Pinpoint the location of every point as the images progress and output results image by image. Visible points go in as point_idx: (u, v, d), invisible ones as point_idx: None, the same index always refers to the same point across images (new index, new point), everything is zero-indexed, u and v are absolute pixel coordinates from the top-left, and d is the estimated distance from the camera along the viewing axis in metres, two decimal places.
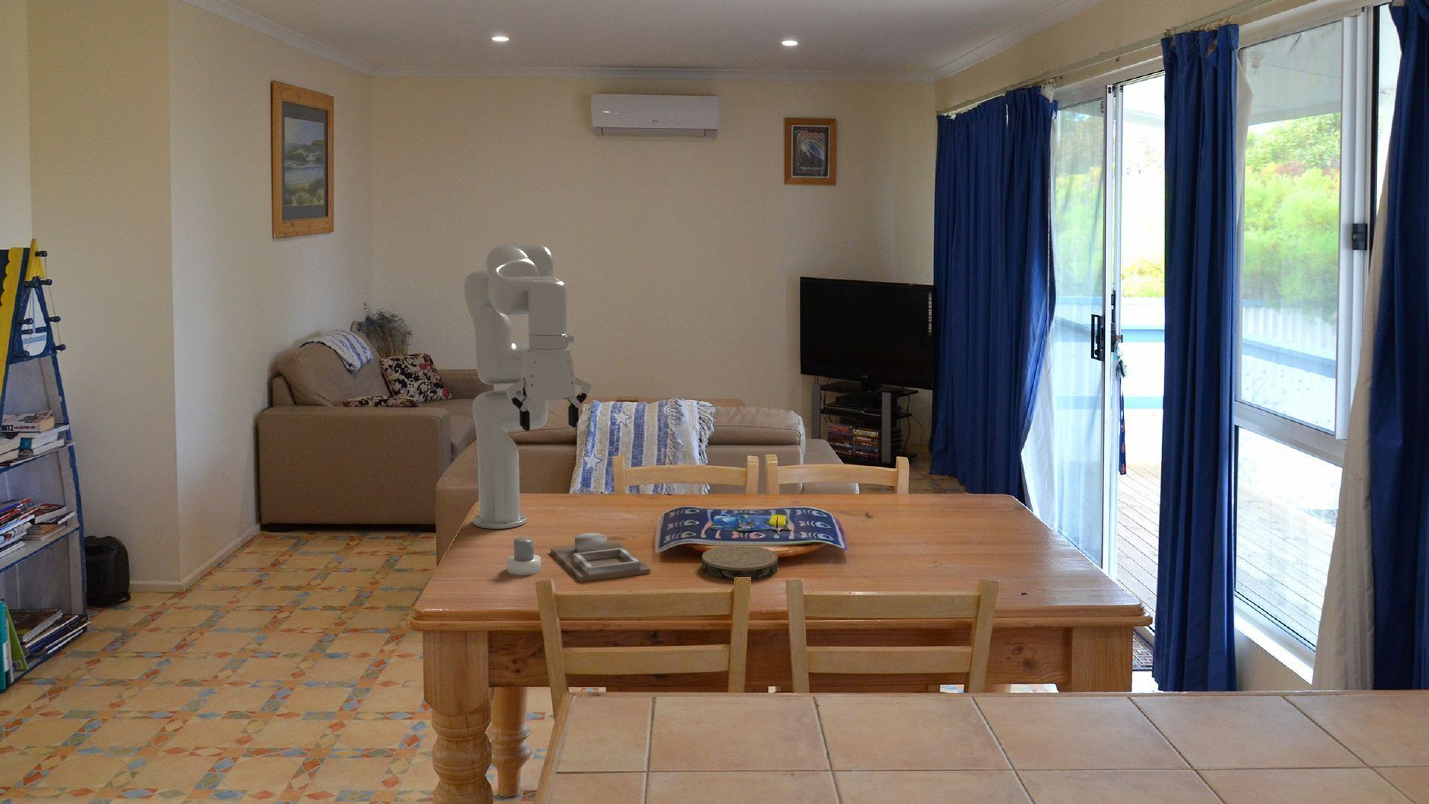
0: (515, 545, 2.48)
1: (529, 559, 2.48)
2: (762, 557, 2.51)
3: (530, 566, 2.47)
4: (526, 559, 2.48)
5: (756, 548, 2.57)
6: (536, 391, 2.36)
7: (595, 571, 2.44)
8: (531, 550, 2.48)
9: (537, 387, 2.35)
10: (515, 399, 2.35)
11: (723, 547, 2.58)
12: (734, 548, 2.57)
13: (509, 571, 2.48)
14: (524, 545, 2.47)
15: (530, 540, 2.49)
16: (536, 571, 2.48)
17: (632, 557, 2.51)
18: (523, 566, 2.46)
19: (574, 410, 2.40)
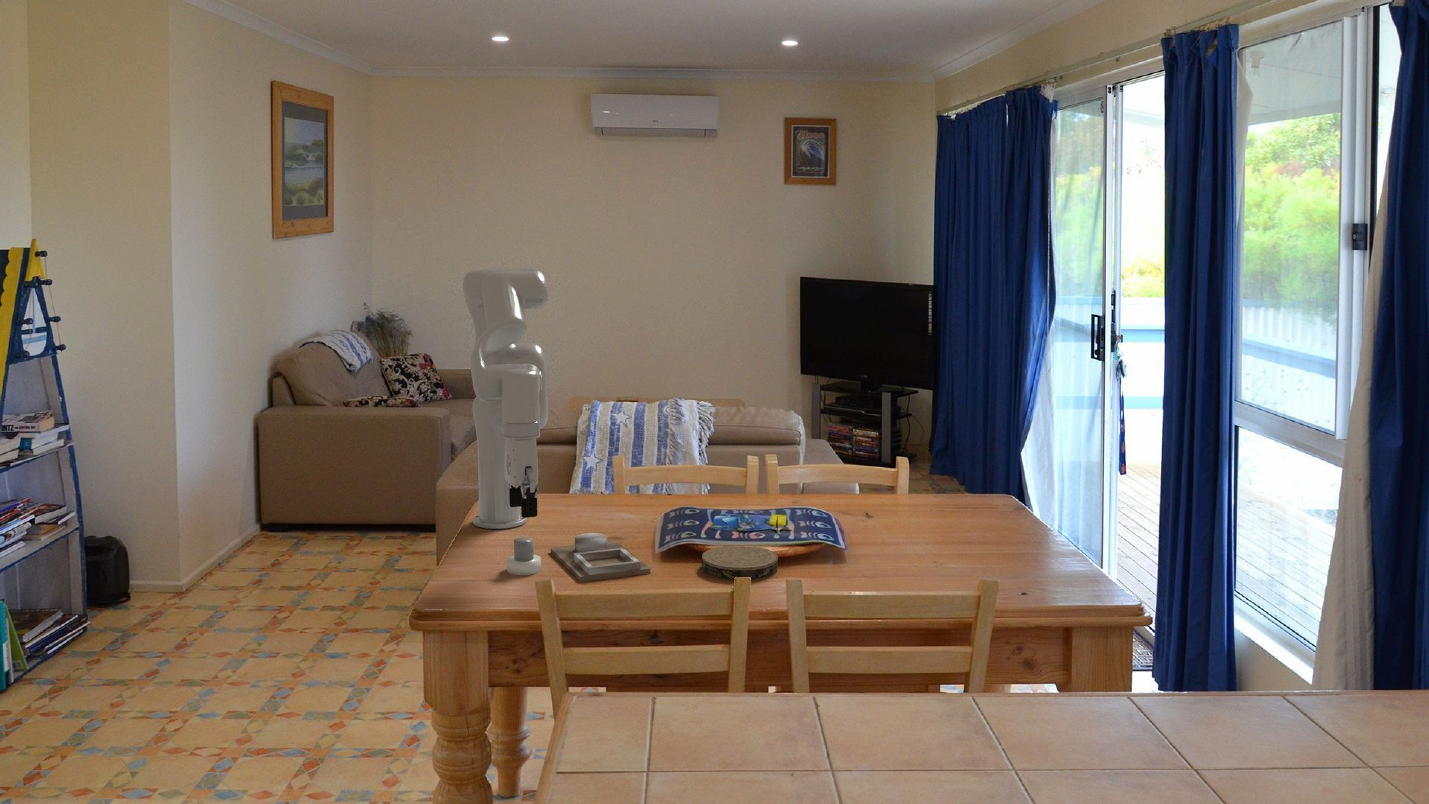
0: (515, 545, 2.48)
1: (529, 559, 2.48)
2: (762, 557, 2.51)
3: (530, 566, 2.47)
4: (526, 559, 2.48)
5: (756, 548, 2.57)
6: None
7: (595, 571, 2.44)
8: (531, 550, 2.49)
9: None
10: (535, 488, 2.41)
11: (723, 547, 2.58)
12: (734, 548, 2.57)
13: (509, 571, 2.48)
14: (524, 545, 2.47)
15: (530, 540, 2.49)
16: (536, 571, 2.48)
17: (632, 557, 2.51)
18: (523, 566, 2.46)
19: None
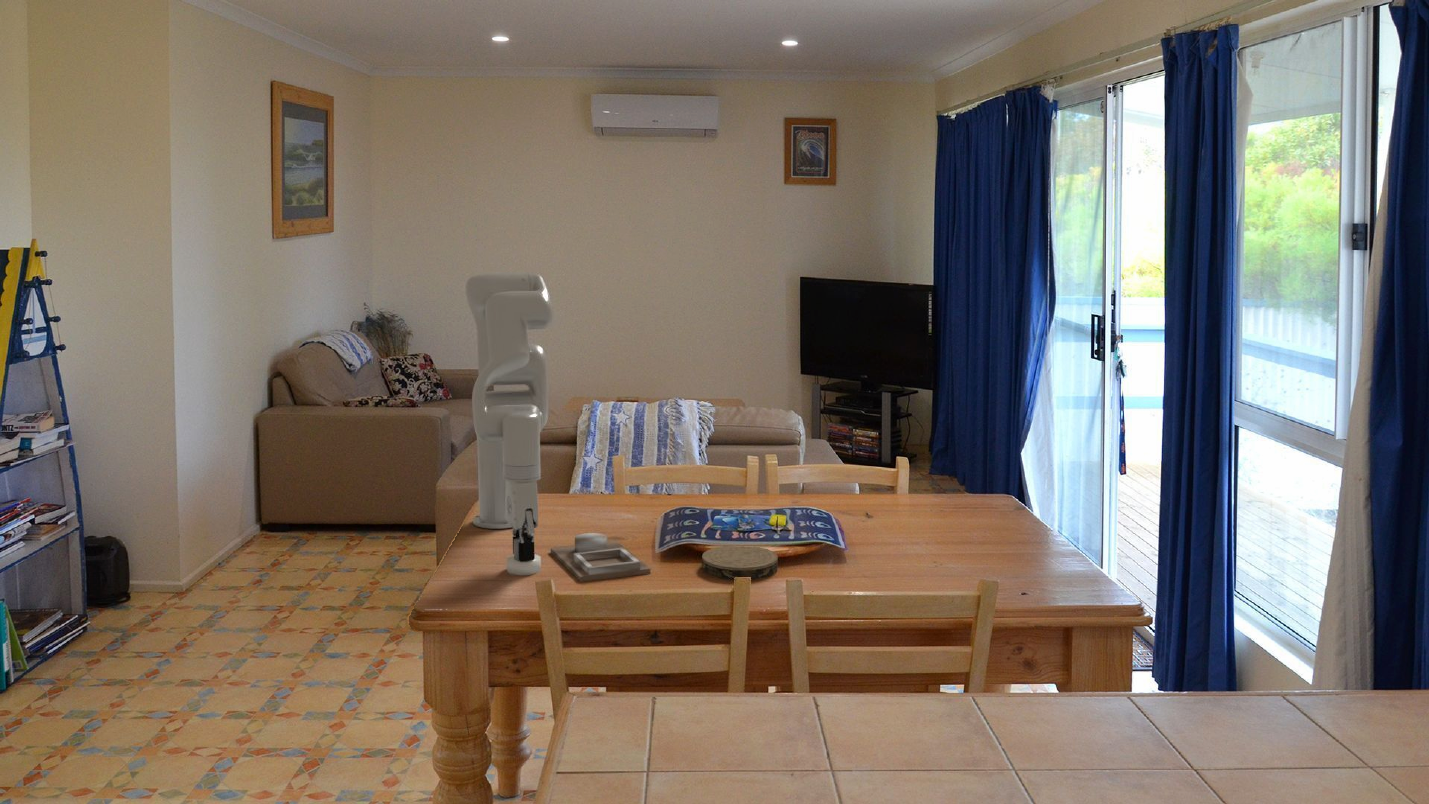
0: (515, 545, 2.48)
1: None
2: (762, 557, 2.51)
3: (530, 565, 2.47)
4: None
5: (756, 548, 2.57)
6: None
7: (595, 571, 2.44)
8: None
9: None
10: None
11: (723, 547, 2.58)
12: (734, 548, 2.57)
13: (509, 571, 2.48)
14: None
15: None
16: (536, 571, 2.48)
17: (632, 557, 2.51)
18: (523, 565, 2.46)
19: None
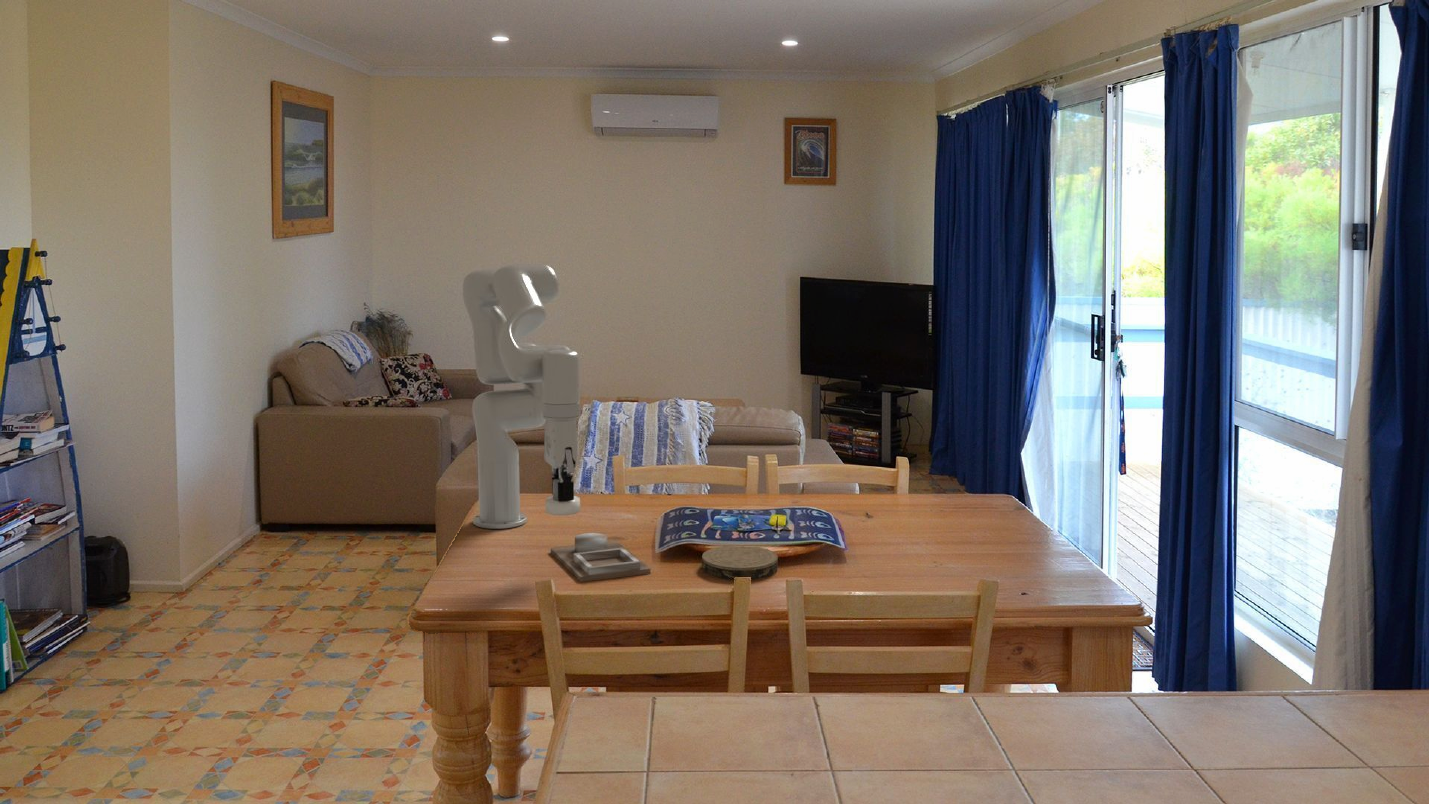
0: (554, 485, 2.46)
1: None
2: (762, 557, 2.51)
3: (569, 505, 2.45)
4: None
5: (756, 548, 2.57)
6: None
7: (595, 571, 2.44)
8: None
9: None
10: None
11: (723, 547, 2.58)
12: (734, 548, 2.57)
13: (548, 511, 2.46)
14: None
15: None
16: (575, 511, 2.46)
17: (632, 557, 2.51)
18: (562, 505, 2.45)
19: None
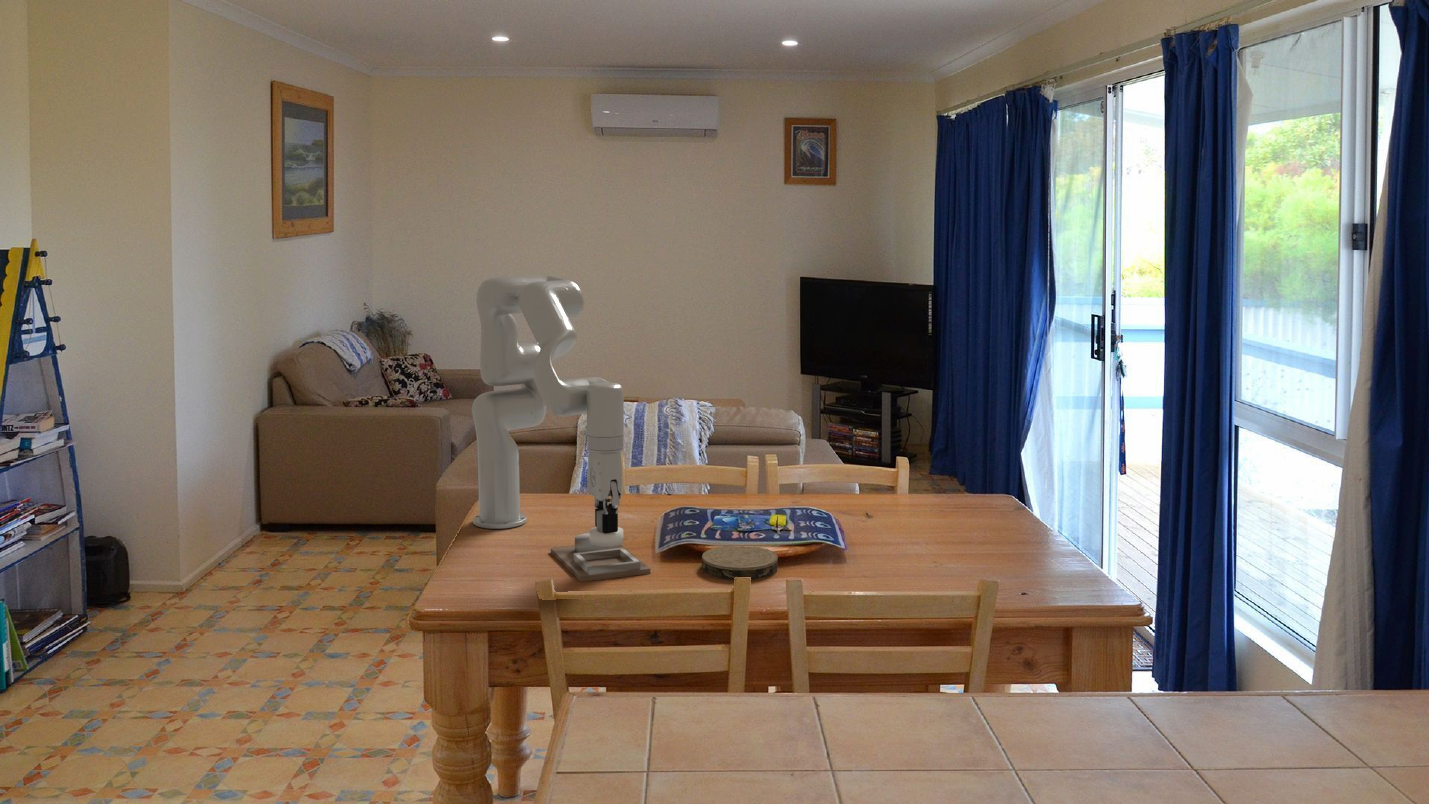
0: (598, 516, 2.48)
1: None
2: (762, 557, 2.51)
3: (614, 537, 2.47)
4: None
5: (756, 548, 2.57)
6: None
7: (595, 571, 2.44)
8: None
9: None
10: None
11: (723, 547, 2.58)
12: (734, 548, 2.57)
13: (592, 542, 2.48)
14: None
15: None
16: (619, 542, 2.48)
17: (632, 557, 2.51)
18: (606, 537, 2.46)
19: None
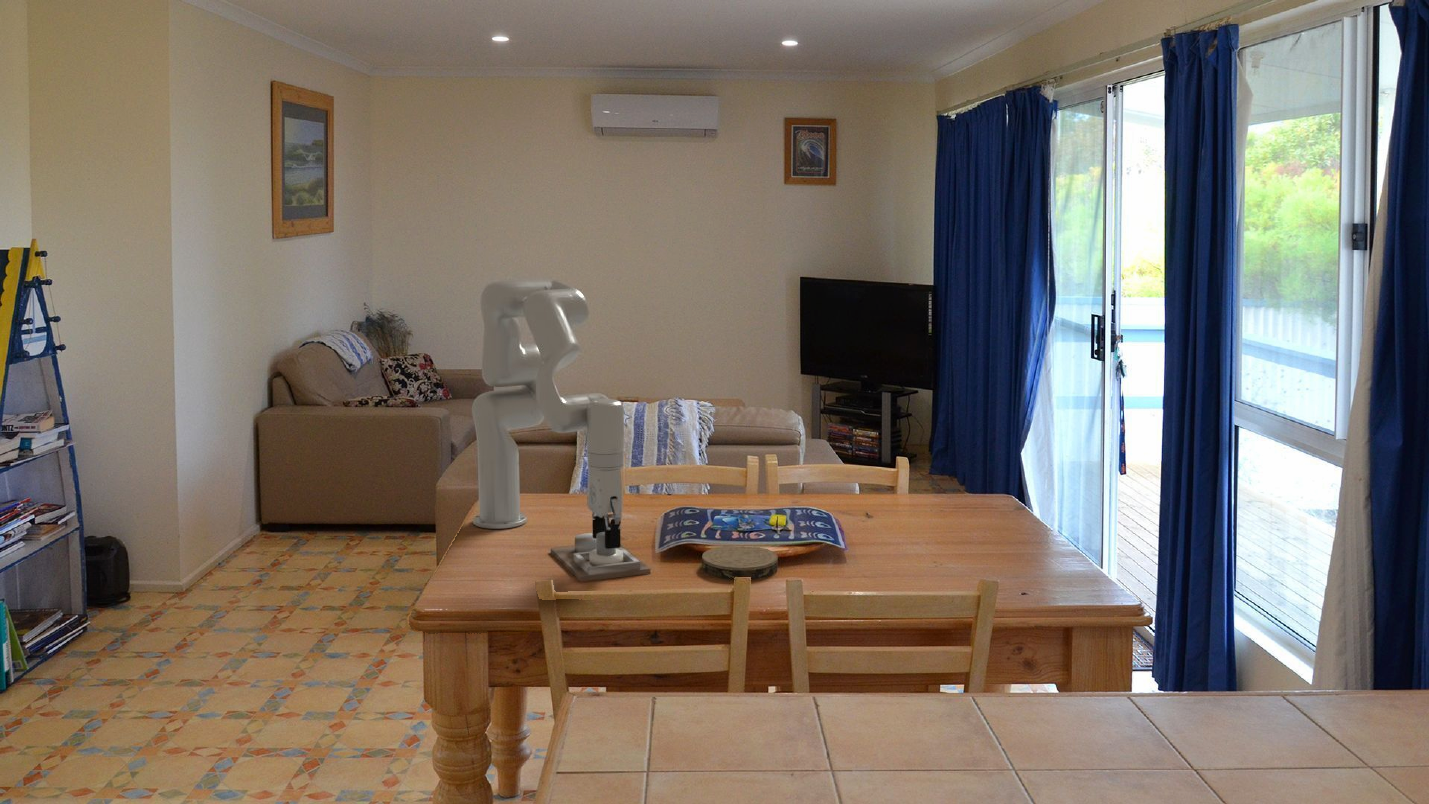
0: (598, 539, 2.49)
1: (612, 553, 2.49)
2: (762, 557, 2.51)
3: (614, 560, 2.48)
4: (609, 553, 2.49)
5: (756, 548, 2.57)
6: None
7: (595, 571, 2.44)
8: None
9: None
10: None
11: (723, 547, 2.58)
12: (734, 548, 2.57)
13: (592, 565, 2.49)
14: None
15: None
16: None
17: (632, 557, 2.51)
18: (606, 560, 2.47)
19: None
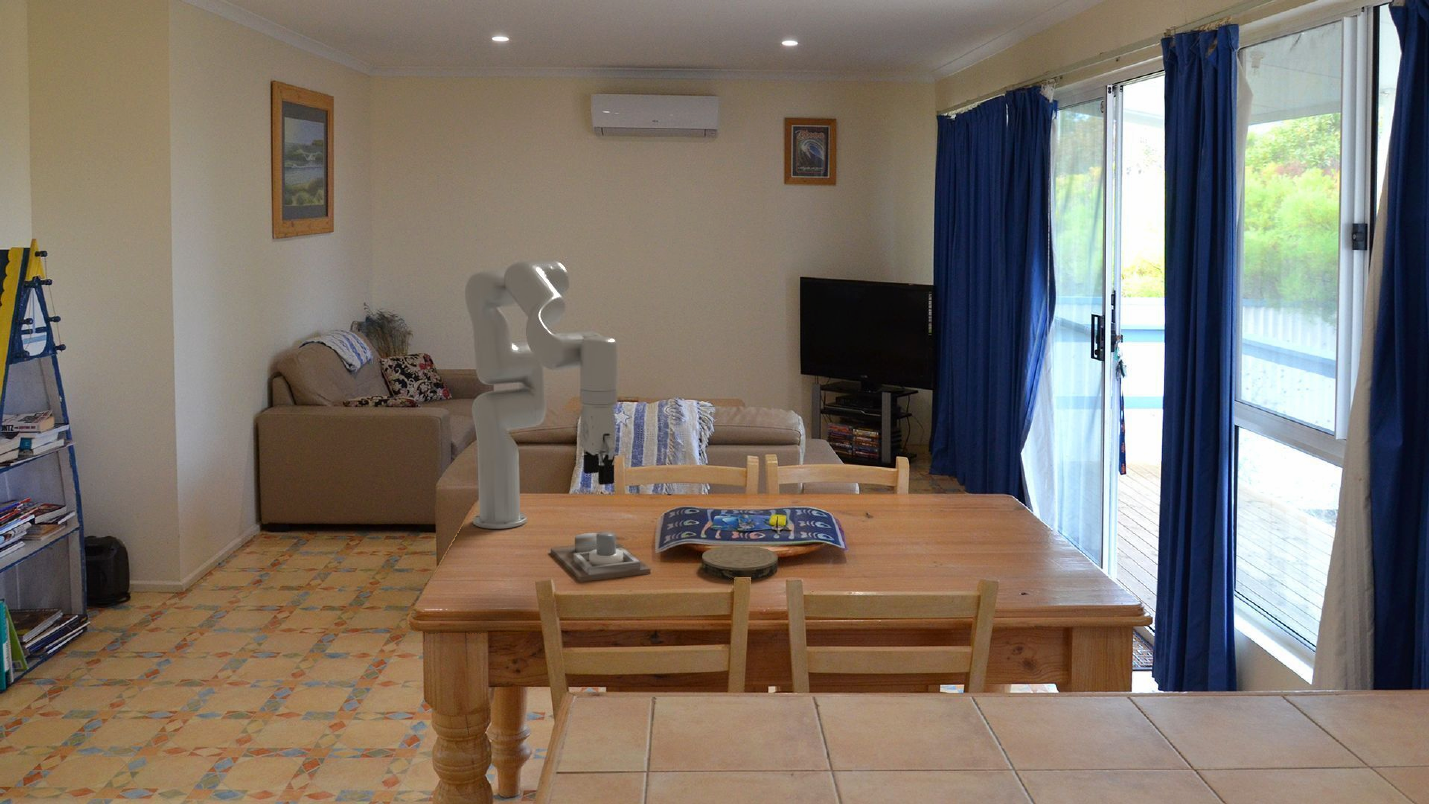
0: (598, 539, 2.49)
1: (612, 553, 2.49)
2: (762, 557, 2.51)
3: (614, 560, 2.48)
4: (609, 553, 2.49)
5: (756, 548, 2.57)
6: None
7: (595, 571, 2.44)
8: (614, 544, 2.49)
9: None
10: (613, 455, 2.42)
11: (723, 547, 2.58)
12: (734, 548, 2.57)
13: (592, 565, 2.49)
14: (607, 539, 2.48)
15: (612, 534, 2.50)
16: None
17: (632, 557, 2.51)
18: (606, 560, 2.47)
19: None
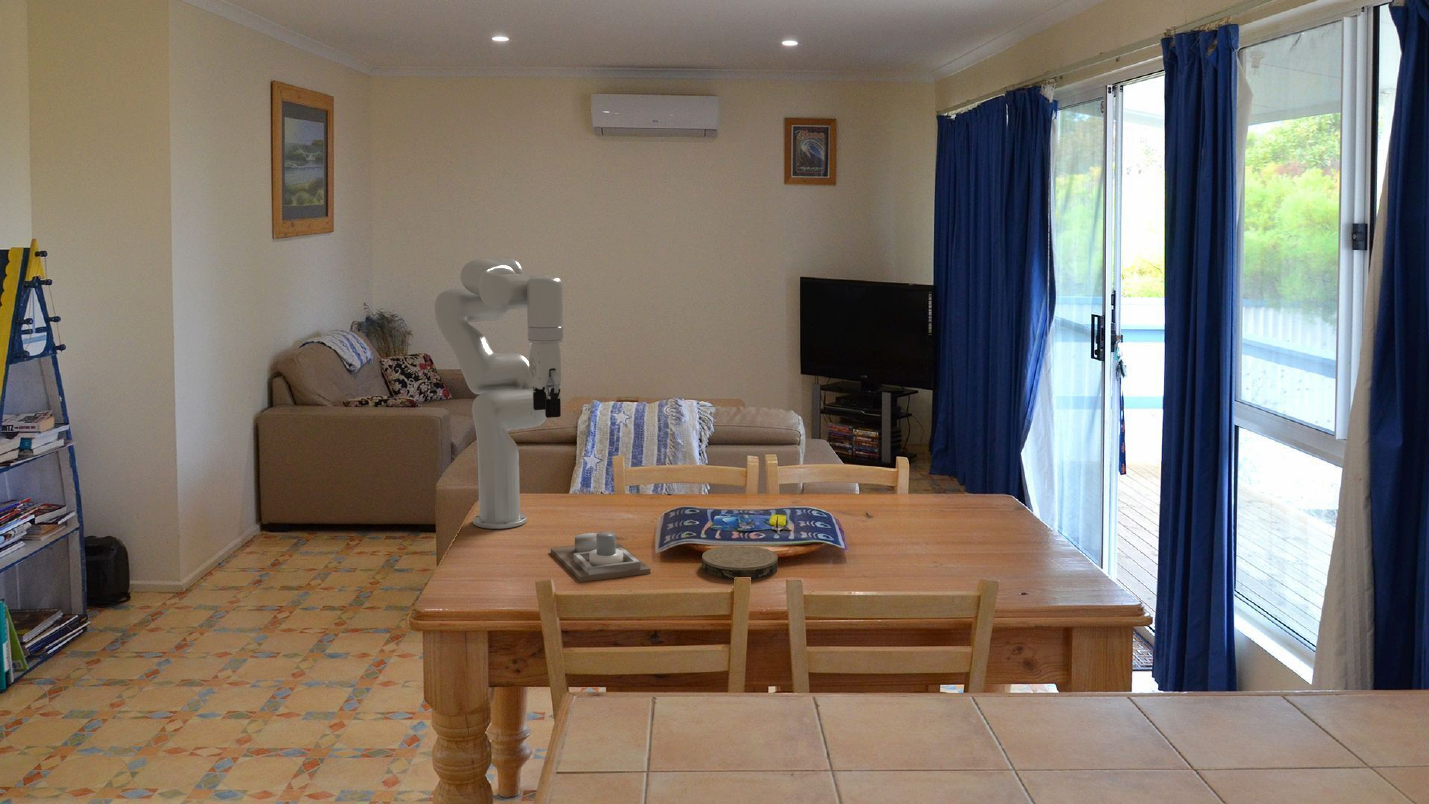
0: (598, 539, 2.49)
1: (612, 553, 2.49)
2: (762, 556, 2.51)
3: (614, 560, 2.48)
4: (609, 553, 2.49)
5: (756, 548, 2.57)
6: None
7: (595, 571, 2.44)
8: (614, 544, 2.49)
9: None
10: (559, 388, 2.53)
11: (723, 547, 2.58)
12: (734, 548, 2.57)
13: (592, 565, 2.49)
14: (607, 539, 2.48)
15: (612, 534, 2.50)
16: None
17: (632, 557, 2.51)
18: (606, 560, 2.47)
19: None
